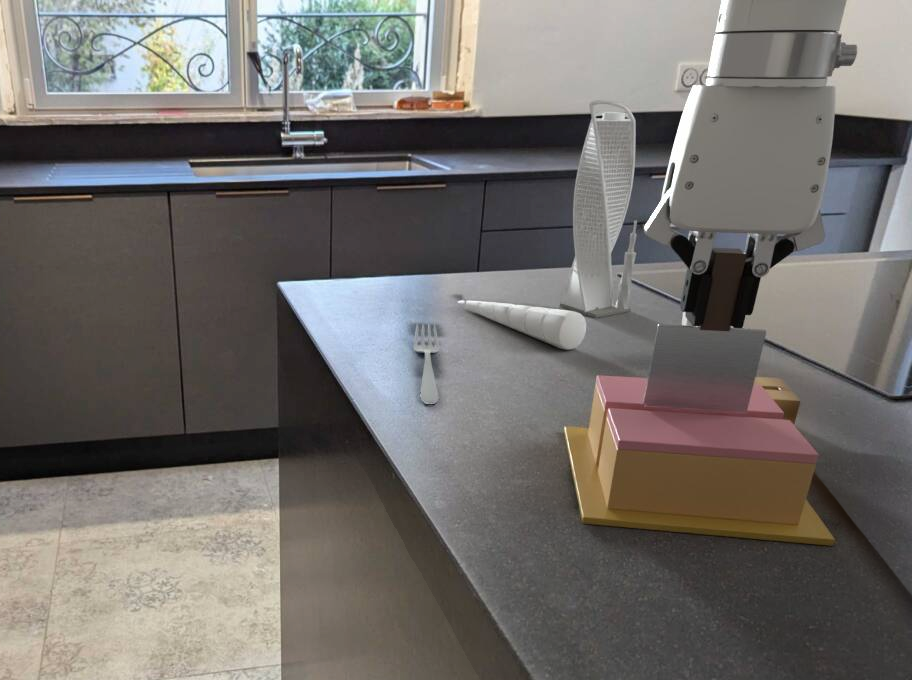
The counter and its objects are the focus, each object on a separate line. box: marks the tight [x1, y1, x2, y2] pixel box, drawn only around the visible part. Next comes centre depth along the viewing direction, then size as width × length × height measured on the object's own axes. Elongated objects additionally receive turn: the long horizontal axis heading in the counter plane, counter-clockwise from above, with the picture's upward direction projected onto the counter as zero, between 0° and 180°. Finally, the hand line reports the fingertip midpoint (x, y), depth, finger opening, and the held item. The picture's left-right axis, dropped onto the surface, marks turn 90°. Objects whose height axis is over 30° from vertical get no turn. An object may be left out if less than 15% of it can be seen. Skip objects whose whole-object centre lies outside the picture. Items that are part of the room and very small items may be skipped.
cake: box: [563, 374, 836, 547], centre depth 69 cm, size 18×18×7 cm
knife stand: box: [754, 376, 802, 425], centre depth 81 cm, size 12×6×4 cm, turn 79°
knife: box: [643, 247, 768, 414], centre depth 65 cm, size 8×2×13 cm, turn 79°
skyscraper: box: [559, 99, 638, 319], centre depth 114 cm, size 8×8×28 cm
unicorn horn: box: [457, 300, 587, 351], centre depth 111 cm, size 5×24×5 cm, turn 24°
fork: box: [413, 323, 440, 404], centre depth 97 cm, size 3×24×2 cm, turn 174°
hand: (713, 320), depth 65 cm, fingers closed on knife, 2 cm apart
